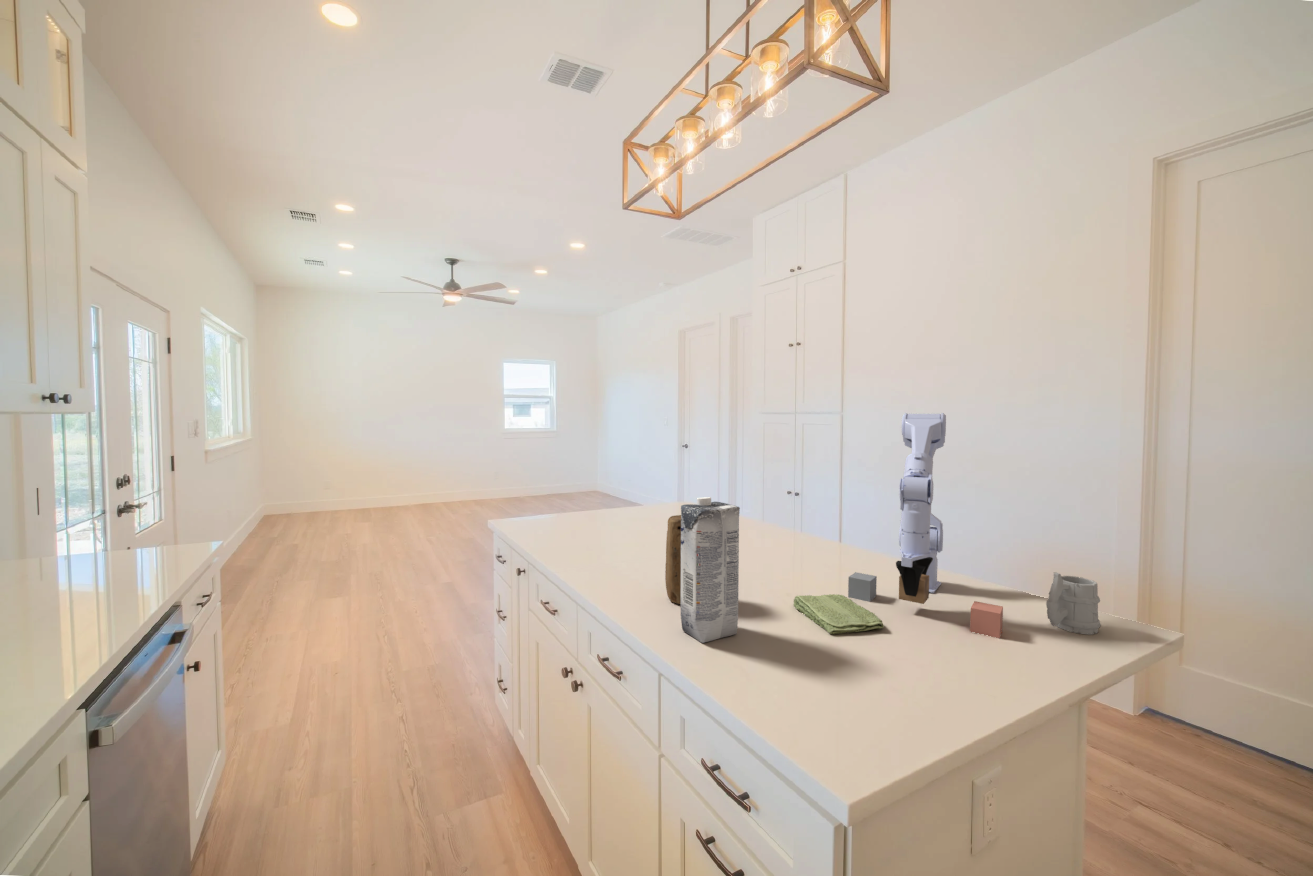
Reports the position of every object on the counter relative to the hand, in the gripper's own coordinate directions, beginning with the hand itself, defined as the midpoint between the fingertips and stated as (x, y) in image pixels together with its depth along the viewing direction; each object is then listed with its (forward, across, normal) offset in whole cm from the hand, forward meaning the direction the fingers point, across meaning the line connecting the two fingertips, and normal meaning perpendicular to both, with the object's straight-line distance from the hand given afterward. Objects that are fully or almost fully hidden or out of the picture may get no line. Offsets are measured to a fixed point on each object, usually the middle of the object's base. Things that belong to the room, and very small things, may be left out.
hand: (913, 591), depth 116 cm
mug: (+5, +10, -27) cm, 29 cm away
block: (+5, -25, +43) cm, 50 cm away
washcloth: (+5, -14, +12) cm, 19 cm away
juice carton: (+4, -38, +29) cm, 48 cm away
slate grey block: (+5, +3, +12) cm, 13 cm away
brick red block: (+5, -2, -14) cm, 15 cm away
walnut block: (+2, 0, 0) cm, 2 cm away
